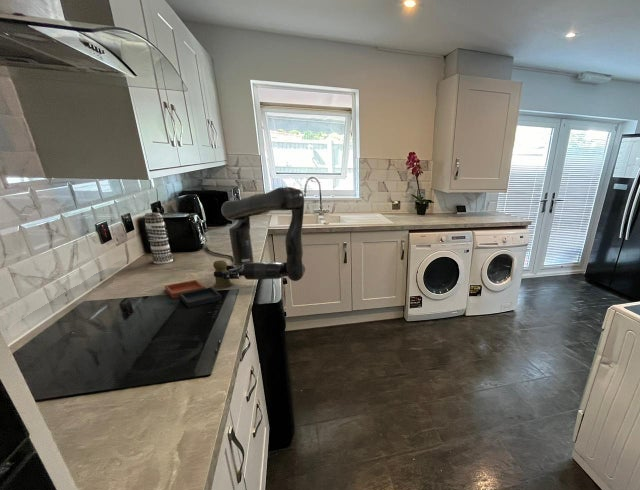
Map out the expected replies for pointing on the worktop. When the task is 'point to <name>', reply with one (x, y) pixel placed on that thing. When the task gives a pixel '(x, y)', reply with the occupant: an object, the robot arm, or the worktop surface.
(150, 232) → the white patterned cylinder
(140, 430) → the worktop surface
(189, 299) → the charcoal tray
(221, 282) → the cork
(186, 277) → the worktop surface
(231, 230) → the robot arm
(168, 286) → the terracotta tray
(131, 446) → the worktop surface
